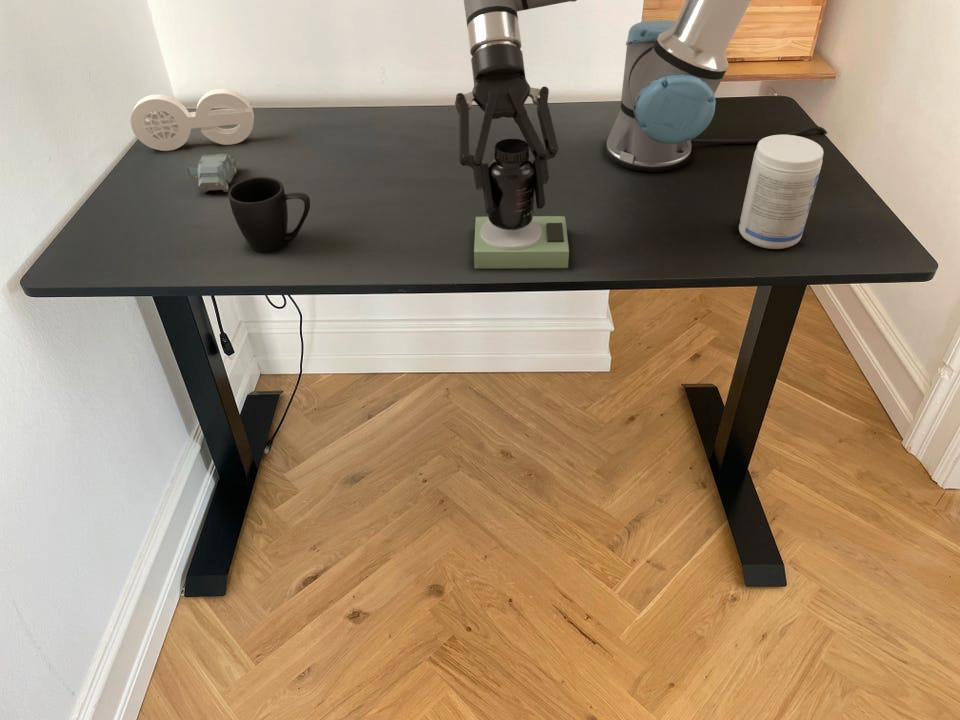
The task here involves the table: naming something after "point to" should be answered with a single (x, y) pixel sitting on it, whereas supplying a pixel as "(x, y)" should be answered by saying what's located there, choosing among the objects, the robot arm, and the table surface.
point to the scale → (522, 244)
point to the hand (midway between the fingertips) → (515, 208)
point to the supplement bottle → (512, 185)
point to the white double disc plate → (191, 119)
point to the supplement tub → (780, 190)
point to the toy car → (214, 172)
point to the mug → (264, 212)
